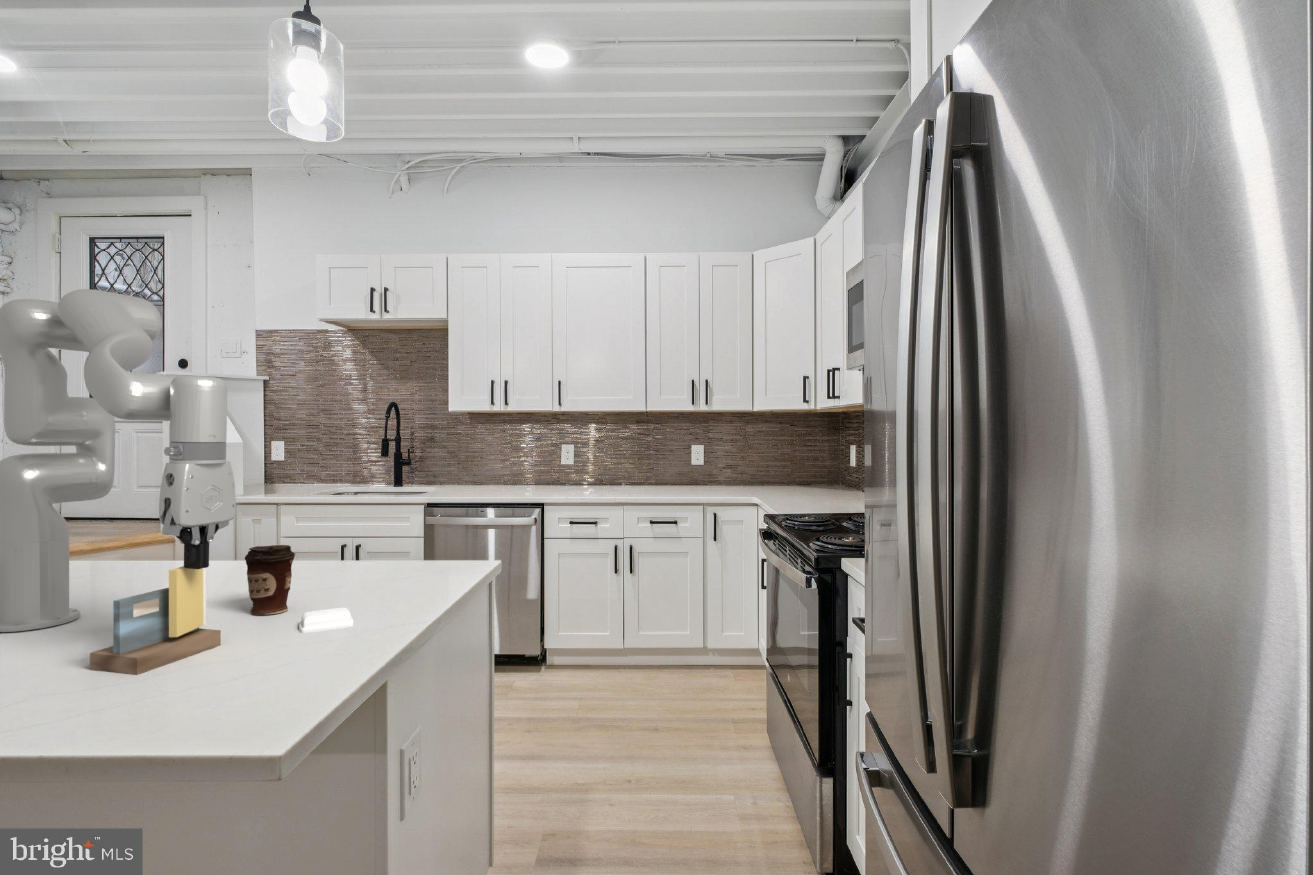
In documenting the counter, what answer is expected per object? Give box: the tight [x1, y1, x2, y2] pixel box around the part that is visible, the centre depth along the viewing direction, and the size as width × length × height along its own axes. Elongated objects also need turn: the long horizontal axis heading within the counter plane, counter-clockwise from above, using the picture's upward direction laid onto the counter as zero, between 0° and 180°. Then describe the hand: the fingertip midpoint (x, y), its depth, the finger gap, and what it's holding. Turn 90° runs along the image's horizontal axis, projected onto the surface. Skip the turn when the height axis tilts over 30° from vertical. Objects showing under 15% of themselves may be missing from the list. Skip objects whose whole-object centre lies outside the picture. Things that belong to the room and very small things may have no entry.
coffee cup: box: [244, 544, 296, 616], centre depth 131 cm, size 9×8×13 cm
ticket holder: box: [89, 587, 222, 676], centre depth 105 cm, size 9×14×10 cm, turn 166°
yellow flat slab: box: [168, 565, 207, 637], centre depth 107 cm, size 1×7×10 cm, turn 2°
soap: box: [298, 607, 355, 634], centre depth 122 cm, size 9×7×3 cm
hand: (196, 567), depth 106 cm, fingers closed
